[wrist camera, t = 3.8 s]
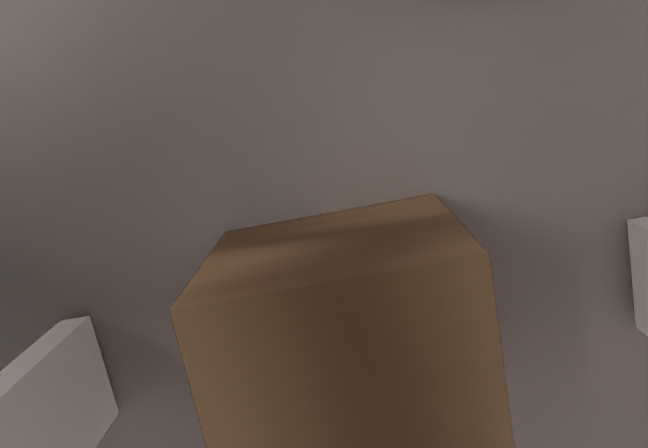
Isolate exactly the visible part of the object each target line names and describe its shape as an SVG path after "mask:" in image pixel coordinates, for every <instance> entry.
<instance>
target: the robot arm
mask: <svg viewBox="0 0 648 448" xmlns="http://www.w3.org/2000/svg"><path fill="white" fill-rule="evenodd" d="M627 224H628V236H629V249H630V261H631V274H632V286H633V299H634V311H635V324H636V328H637V329H638V330H640V331H641V332H642V333H643V334H645V335H646V336H647V337H648V216H645V217H640V218H634V219H628V220H627ZM118 414H119V411H118V408H117V404H116V401H115V398H114V394H113V391H112V388H111V384H110V381H109V378H108V374H107V371H106V368H105V365H104V361H103V358H102V355H101V351H100V348H99V345H98V341H97V338H96V335H95V331H94V328H93V325H92V322H91V318H90V315H89V316H84V317H78V318H73V319H67V320H61V321H60V322H58V323H57V324H56V325H55V326H54V327H52V328H51V329H50V330H49V331H48V332H46V333H45V334H44V335H43V336H42V337H40V338H39V339H38V340H37V341H36V342H34V343H33V344H32V345H31V346H30V347H28V348H27V349H26V350H25V351H24V352H23V353H21V354H20V355H19V356H18V357H17V358H15V359H14V360H13V361H12V362H11V363H9V364H8V365H7V366H6V367H5V368H3V369H2V370H1V371H0V448H96V447H97V445H98V444H99V442H100V441H101V439H102V438H103V436H104V435H105V433H106V432H107V430H108V429H109V427H110V426H111V424H112V423H113V422H114V420H115V419H116V417H117V416H118Z"/></svg>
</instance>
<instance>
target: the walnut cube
mask: <svg viewBox="0 0 648 448" xmlns="http://www.w3.org/2000/svg"><path fill="white" fill-rule="evenodd" d="M169 311H170V315H171V319H172V322H173V326H174V330H175V333H176V337H177V341H178V345H179V348H180V352H181V356H182V359H183V363H184V367H185V370H186V374H187V378H188V382H189V385H190V389H191V393H192V396H193V400H194V404H195V408H196V411H197V415H198V419H199V422H200V426H201V430H202V433H203V437H204V441H205V445H206V448H515V447H514V440H513V432H512V425H511V417H510V409H509V402H508V394H507V386H506V379H505V371H504V364H503V356H502V348H501V341H500V333H499V326H498V318H497V310H496V303H495V295H494V288H493V280H492V272H491V265H490V257H489V253H488V252H487V251H486V249H485V248H484V247H483V246H482V245H481V244H480V243H479V242H478V241H477V240H476V239H475V238H474V236H473V235H472V234H471V233H470V232H469V231H468V230H467V229H466V228H465V227H464V226H463V225H462V223H461V222H460V221H459V220H458V219H457V218H456V217H455V216H454V215H453V214H452V213H451V211H450V210H449V209H448V208H447V207H446V206H445V205H444V204H443V203H442V202H441V201H440V200H439V198H438V197H437V196H436V195H435V194H429V195H424V196H418V197H413V198H408V199H402V200H397V201H391V202H386V203H380V204H375V205H369V206H364V207H359V208H353V209H348V210H342V211H337V212H331V213H326V214H320V215H315V216H310V217H304V218H299V219H293V220H288V221H282V222H277V223H271V224H266V225H261V226H255V227H250V228H244V229H239V230H233V231H228V232H225V234H224V235H223V236H222V238H221V239H220V241H219V242H218V243H217V245H216V246H215V247H214V249H213V250H212V252H211V253H210V254H209V256H208V257H207V259H206V260H205V261H204V263H203V264H202V265H201V267H200V268H199V270H198V271H197V272H196V274H195V275H194V276H193V278H192V279H191V281H190V282H189V283H188V285H187V286H186V287H185V289H184V290H183V292H182V293H181V294H180V296H179V297H178V298H177V300H176V301H175V303H174V304H173V305H172V307H171V308H170V309H169Z"/></svg>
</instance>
